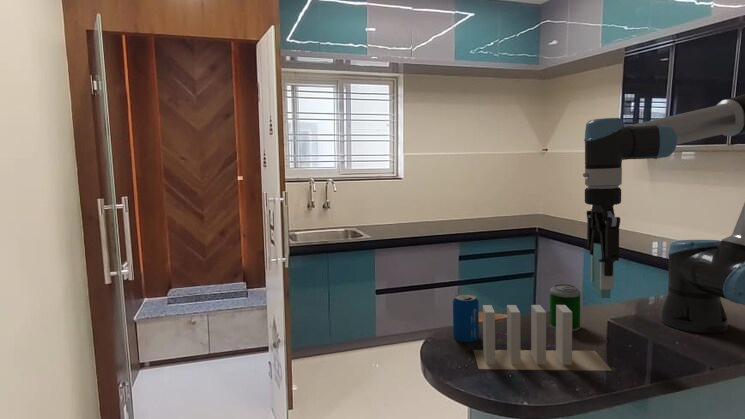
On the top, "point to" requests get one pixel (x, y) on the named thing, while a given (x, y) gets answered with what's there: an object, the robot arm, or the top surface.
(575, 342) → the top surface
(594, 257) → the head tile
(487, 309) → the tile
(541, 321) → the tile
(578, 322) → the soda can
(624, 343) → the top surface
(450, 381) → the top surface
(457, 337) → the beverage can
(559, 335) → the tile
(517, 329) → the tile
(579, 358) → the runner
